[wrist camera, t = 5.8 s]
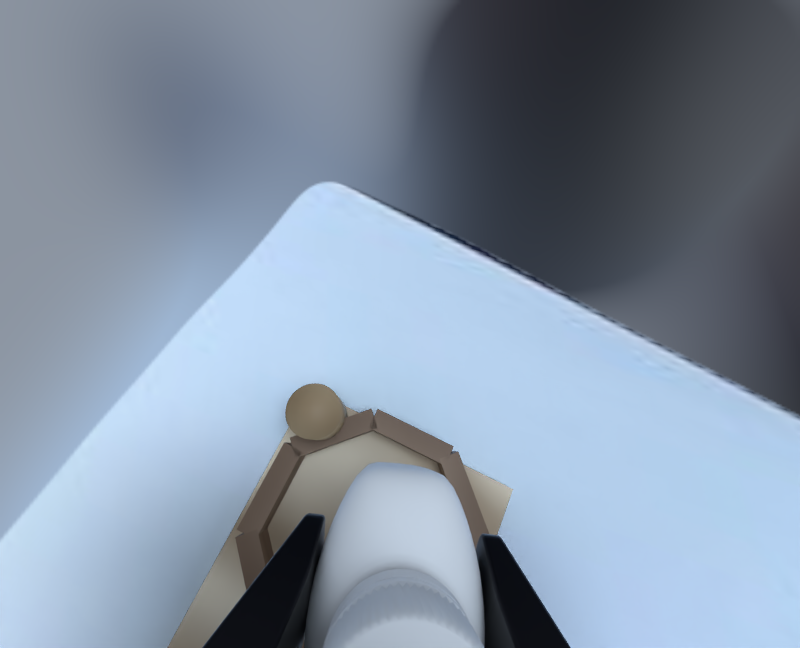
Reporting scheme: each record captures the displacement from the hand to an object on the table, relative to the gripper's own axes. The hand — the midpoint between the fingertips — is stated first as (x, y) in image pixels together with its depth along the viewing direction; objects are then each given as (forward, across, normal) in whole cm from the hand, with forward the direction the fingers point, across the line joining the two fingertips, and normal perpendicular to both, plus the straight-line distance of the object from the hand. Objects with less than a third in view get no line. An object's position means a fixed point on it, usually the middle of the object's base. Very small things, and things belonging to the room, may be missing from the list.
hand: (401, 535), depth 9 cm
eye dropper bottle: (+4, 0, +6) cm, 7 cm away
